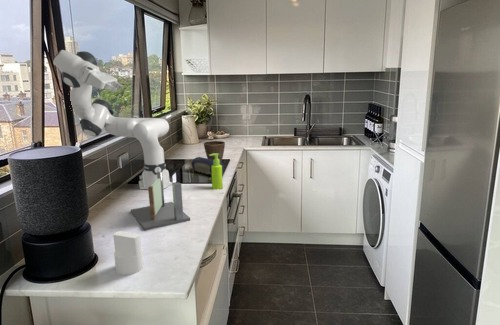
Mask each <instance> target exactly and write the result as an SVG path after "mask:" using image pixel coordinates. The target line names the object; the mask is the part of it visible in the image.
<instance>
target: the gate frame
mask: <svg viewBox="0 0 500 325" xmlns="http://www.w3.org/2000/svg"><path fill="white" fill-rule="evenodd" d="M157 179H160V180H161V193H162V206H161V208H160V209H159V211H158V212H157V214H156V215H155V219H151V215H150V205H148V206H143V207H136V208H132V209H130V213H131V214H132V216H133V217H134V218H135V219H136V221H137V222H138V223H139V225H140V226H141V227H142V229H143V231H149V230H154V229H157V228H162V227H167V226H172V225H176V224H181V223H185V222H189V221H191V217H190V216H188V214H186V212H184V206H183V192H182V190H183V189H182V184H181V183H180V182H179V181H178V182H174V183H173V182H172V184H171V186H172V200H173V201H170V202H169V201H168V202H165V196H164V195H165V194H164V188H163V177H162V172H161V171H159V172H157Z"/></svg>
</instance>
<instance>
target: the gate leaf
mask: <svg viewBox="0 0 500 325" xmlns="http://www.w3.org/2000/svg"><path fill="white" fill-rule="evenodd" d="M147 191H148V199H149V201H148V202H149V206H150V215H151V219H155V215H156V214H157V212H158V211H159V209H160V208H161V206H162V193H161V180H160V179H157V180H156V181H155V182H154V184H153V185H152V186H149V187H148V190H147Z"/></svg>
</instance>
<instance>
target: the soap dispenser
mask: <svg viewBox="0 0 500 325" xmlns="http://www.w3.org/2000/svg"><path fill="white" fill-rule="evenodd" d="M213 155H215V159H214V160H213V164H214V165H212V166H211V170H212V175H211V189H212V190H214V189H219V190H221V189H222V190H223V187H224V184H223V174H222V165H220V162H219V159H218V155H219V154H218V153H214V154H210V155H209V156H213Z"/></svg>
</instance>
